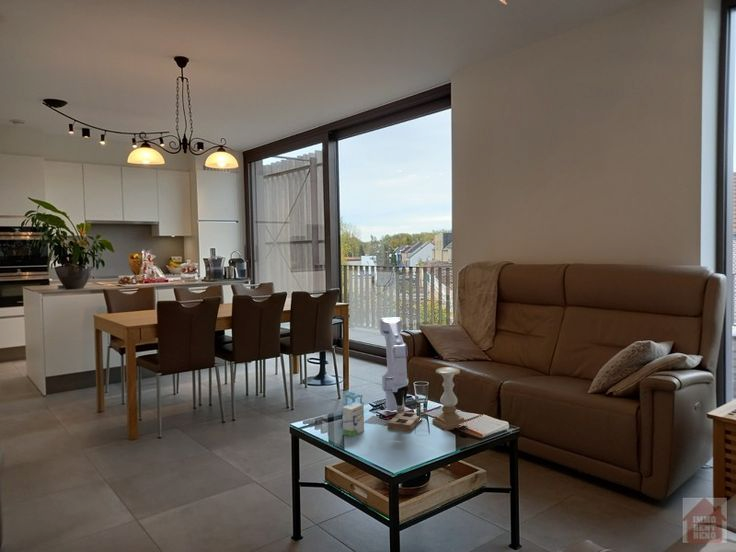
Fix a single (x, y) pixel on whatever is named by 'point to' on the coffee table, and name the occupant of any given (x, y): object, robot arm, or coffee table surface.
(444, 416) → the candle holder
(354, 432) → the ink box
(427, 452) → the coffee table surface
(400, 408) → the peg
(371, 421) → the mat
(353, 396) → the chair
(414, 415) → the block
